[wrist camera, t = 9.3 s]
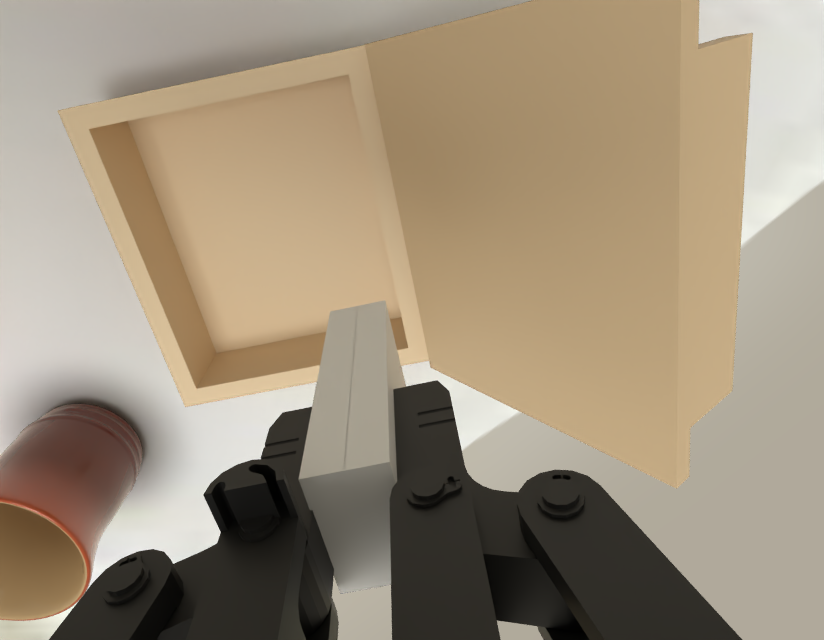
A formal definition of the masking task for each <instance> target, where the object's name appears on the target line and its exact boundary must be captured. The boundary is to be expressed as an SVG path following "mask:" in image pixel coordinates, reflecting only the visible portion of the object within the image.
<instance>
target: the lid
mask: <svg viewBox="0 0 824 640" xmlns="http://www.w3.org/2000/svg"><path fill="white" fill-rule="evenodd" d="M698 31H699V0H533V1H529V2H525V3H522V4H518V5H514V6H510V7H506V8H502V9H499V10H495V11H491V12H487V13H483V14H479V15H476V16H472V17H468V18H464V19H460V20H457V21H453V22H449V23H445V24H441V25H437V26H434V27H430V28H426V29H422V30H418V31H414V32H411V33H407V34H403V35H399V36H395V37H391V38H388V39H384V40H380V41H376V42H372V43H368V44H365V49H366V54H367V59H368V63H369V68H370V73H371V78H372V83H373V88H374V93H375V98H376V103H377V107H378V112H379V117H380V122H381V127H382V132H383V137H384V142H385V147H386V151H387V156H388V161H389V166H390V171H391V176H392V181H393V186H394V191H395V195H396V200H397V205H398V210H399V215H400V220H401V225H402V230H403V235H404V239H405V244H406V249H407V254H408V259H409V264H410V269H411V274H412V279H413V283H414V288H415V293H416V298H417V303H418V308H419V313H420V318H421V323H422V328H423V332H424V337H425V342H426V347H427V352H428V357H429V362H430V367H431V368H433V369H435V370H437V371H439V372H441V373H443V374H445V375H447V376H449V377H451V378H453V379H455V380H457V381H459V382H461V383H463V384H465V385H467V386H469V387H471V388H473V389H475V390H477V391H479V392H481V393H483V394H485V395H488V396H490V397H492V398H494V399H496V400H498V401H500V402H502V403H504V404H506V405H508V406H510V407H512V408H514V409H516V410H518V411H520V412H522V413H524V414H526V415H528V416H530V417H533V418H534V419H537V420H538V421H540V422H542V423H544V424H546V425H549V426H550V427H553V428H555V429H557V430H559V431H561V432H563V433H565V434H567V435H569V436H571V437H573V438H575V439H577V440H579V441H581V442H583V443H585V444H587V445H589V446H591V447H593V448H595V449H597V450H599V451H601V452H603V453H605V454H607V455H609V456H611V457H614V458H616V459H618V460H620V461H622V462H624V463H626V464H628V465H630V466H632V467H634V468H636V469H638V470H640V471H642V472H644V473H646V474H648V475H650V476H652V477H654V478H656V479H658V480H660V481H663V482H664V483H666V484H669V485H670V486H673V487H675V488H678V487H679V486H680V485H681V484H682V483H683V482H684V481H685V480H686V479H687V478H688V477H689V463H690V459H689V458H690V428H691V427H692V426H693V425H694V424H695V423H696V422H697V421H698V420H700V419H701V418H702V417H703V416H704V415H705V414H706V413H707V412H709V411H710V410H711V409H712V408H713V407H714V406H716V405H717V404H718V403H719V402H720V401H721V400H722V399H724V398H725V397H726V396H727V395H728V394H729V393H730V392H731V391H732V386H733V368H734V352H735V334H736V333H735V332H736V317H737V299H738V281H739V265H740V247H741V230H742V212H743V195H744V177H745V160H746V142H747V125H748V107H749V90H750V72H751V55H752V37H753V33H748V34H742V35H735V36H728V37H722V38H719V39H716V40H712V41H709V42H705V43H702V44H698Z"/></svg>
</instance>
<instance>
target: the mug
mask: <svg viewBox="0 0 824 640" xmlns="http://www.w3.org/2000/svg"><path fill="white" fill-rule="evenodd" d="M141 462H142V446H141V442H140V440H139V438H138V436H137V434H136V432H135V431H134V429H133V428H132V427H131V426H130V425H129V424H128V423H127V422H126V421H125V420H124V419H123V418H121V417H120V416H118V415H117V414H115V413H113V412H111V411H109V410H107V409H105V408H102V407H98V406H95V405H89V404H68V405H64V406H60V407H57V408H55V409H53V410H51V411H49V412H48V413H46V414H45V415H44V416H42V417H41V418H39V419H38V420H36V421H35V422H33V423H31V424H30V425H28V426H27V427H26V428H25V429H24V430H23V431H22V432H21V433H20V434H19V435H18V437H17V438H16V439H15V440H14V441H13V442H12V443H11V444H10V445H9V446H8V448H7V449H6V450H5V451H4V452H3V453H2V454H1V455H0V620H14V621H26V620H36V619H42V618H47V617H50V616H54V615H56V614H59V613H61V612H63V611H65V610H67V609H69V608H70V607H72V606H73V605H74V604H75V603H77V602H78V601H79V600H80V599H81V597H82V596H83V595H84V593H85V592H86V590H87V588H88V586H89V583H90V580H91V576H92V571H93V565H94V559H95V554H96V550H97V546H98V543H99V541H100V538H101V536H102V535H103V533H104V531H105V530H106V528H107V526H108V525H109V523H110V522H111V521H112V519H113V518H114V516H115V515H116V513H117V512H118V510H119V508H120V507H121V505H122V503H123V502H124V500H125V498H126V497H127V495H128V494H129V493H130V491H131V490H132V488H133V486H134V484H135V481H136V477H137V476H138V473H139V469H140V465H141Z"/></svg>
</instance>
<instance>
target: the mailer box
mask: <svg viewBox="0 0 824 640" xmlns="http://www.w3.org/2000/svg"><path fill="white" fill-rule="evenodd" d="M58 113H59V115H60V118H61V120H62V122H63V124H64V127H65V129H66V131H67V134H68V136H69V138H70V141H71V143H72V145H73V148H74V150H75V152H76V155H77V157H78V159H79V162H80V164H81V166H82V169H83V171H84V173H85V175H86V178H87V180H88V182H89V185H90V187H91V189H92V192H93V194H94V196H95V199H96V201H97V203H98V206H99V208H100V210H101V213H102V215H103V217H104V220H105V222H106V224H107V226H108V229H109V231H110V233H111V236H112V238H113V240H114V243H115V245H116V247H117V250H118V252H119V254H120V257H121V259H122V261H123V264H124V266H125V268H126V271H127V273H128V275H129V278H130V280H131V282H132V284H133V287H134V289H135V291H136V294H137V296H138V298H139V301H140V303H141V305H142V308H143V310H144V312H145V315H146V317H147V319H148V322H149V324H150V326H151V329H152V331H153V333H154V335H155V338H156V340H157V342H158V345H159V347H160V349H161V352H162V354H163V356H164V359H165V361H166V363H167V366H168V368H169V370H170V373H171V375H172V377H173V380H174V382H175V384H176V386H177V389H178V391H179V393H180V396H181V398H182V400H183V403H184V405H185V407H188V406H193V405H198V404H204V403H209V402H214V401H219V400H225V399H230V398H235V397H240V396H246V395H251V394H256V393H261V392H267V391H272V390H277V389H282V388H288V387H293V386H298V385H303V384H309V383H314V382H317V379H318V373H319V368H320V363H321V358H322V352H323V347H324V342H325V336H326V331H327V326H328V320H329V315H330V311H335V310H340V309H345V308H350V307H355V306H360V305H364V304H369V303H374V302H379V301H384V300H385V301H386V305H387V309H388V314H389V318H390V322H391V326H392V330H393V335H394V339H395V343H396V347H397V351H398V355H399V360H400V364H401V366H403V365H408V364H413V363H419V362H424V361H429V357H428V352H427V347H426V342H425V337H424V332H423V328H422V323H421V318H420V313H419V308H418V303H417V298H416V293H415V288H414V283H413V279H412V274H411V269H410V264H409V259H408V254H407V249H406V244H405V239H404V235H403V230H402V225H401V220H400V215H399V210H398V205H397V200H396V195H395V191H394V186H393V181H392V176H391V171H390V166H389V161H388V156H387V151H386V147H385V142H384V137H383V132H382V127H381V122H380V117H379V112H378V107H377V103H376V98H375V93H374V88H373V83H372V78H371V73H370V68H369V63H368V59H367V54H366V49H365V45H362V46H358V47H353V48H348V49H344V50H339V51H334V52H330V53H325V54H320V55H316V56H311V57H306V58H302V59H297V60H292V61H287V62H283V63H278V64H273V65H269V66H264V67H259V68H255V69H250V70H245V71H241V72H236V73H231V74H226V75H222V76H217V77H212V78H208V79H203V80H198V81H194V82H189V83H184V84H180V85H175V86H170V87H166V88H161V89H156V90H151V91H147V92H142V93H137V94H133V95H128V96H123V97H119V98H114V99H109V100H105V101H100V102H95V103H90V104H86V105H81V106H76V107H72V108H67V109H62V110H58Z"/></svg>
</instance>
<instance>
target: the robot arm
mask: <svg viewBox="0 0 824 640" xmlns="http://www.w3.org/2000/svg"><path fill="white" fill-rule="evenodd" d="M204 497H205V499H206V501H207V504H208V506H209V508H210V510H211V512H212V514H213V516H214V519H215V521H216V523H217V525H218V527H219V529H220V531H221V534H220V537H219V540H218V543H217V544H215V545H213V546H212V547H210V548H208V549H206V550H204V551H202V552H200V553H197V554H195V555H193V556H191V557H188V558H186V559H184V560H182V561H179V562H177V563H175V564H173V563H172V561H171V559H170V558H169V557H168V556H167V555H166V554H165V552H162V551H158V550H154V549H151V550H145V551H139V552H136V553H133V554H131V555H129V556H127V557H124V558H122V559H120V560H119V561H117V562H116V563H115V564H113V565H112V566H110V567H109V568H107V569H106V570H105V571H104V572H103V573H102V574H101V575H100V576H99V577H98V578H97V579H96V580H95V581H94V582H93V583H92V585H91V586H90V587H89V589H88V590H87V591H86V592H85V594H84V595H83V596H82V598H81V599H80V600H79V602H78V603H77V604H76V605H75V607H74V608H73V609H72V611H71V612H70V613H69V614H68V616H67V617H66V618H65V620H64V621H63V622H62V623H61V625H60V626H59V627H58V629H57V630H56V631H55V633H54V634H53V635H52V636H51V638H50V639H49V640H337V637H338V616H337V610H336V607H335V605H334V602H333V599H332V587H333V576H334V577H335V580H336V583H337V586H338V588H339V591H340V593H341V594H343V593H348V592H354V591H360V590H365V589H370V588H376V587H381V586H386V585H391V599H392V640H500V635H499V631H498V625H497V620H498V621H505V622H512V623H519V624H527V625H533V626H537V627H538V630H539V632H540V634H541V636H542V637H543V639H544V640H742V639H741V638H740V637H739V636H738V635H737V634H736V632H735V631H734V630H733V629H732V628H731V627H730V626H729V625H728V624H727V623H726V622H725V621H724V620H723V618H722V617H721V616H720V615H719V614H718V613H717V612H716V611H715V610H714V609H713V607H712V606H711V605H710V604H709V603H708V602H707V601H706V600H705V599H704V598H703V597H702V596H701V594H700V593H699V592H698V591H697V590H696V589H695V588H694V587H693V586H692V585H691V584H690V582H689V581H688V580H687V579H686V578H685V577H684V576H683V575H682V574H681V573H680V572H679V571H678V570H677V568H676V567H675V566H674V565H673V564H672V563H671V562H670V561H669V560H668V559H667V558H666V556H665V555H664V554H663V553H662V552H661V551H660V550H659V549H658V548H657V547H656V546H655V544H654V543H653V542H652V541H651V540H650V539H649V538H648V537H647V536H646V535H645V534H644V533H643V531H642V530H641V529H640V528H639V527H638V526H637V525H636V524H635V523H634V522H633V521H632V520H631V518H630V517H629V516H628V515H627V514H626V513H625V512H624V511H623V510H622V509H621V508H620V506H619V505H618V504H617V503H616V502H615V501H614V500H613V499H612V498H611V497H610V496H609V495H608V493H607V492H606V491H605V490H604V489H603V488H602V487H601V486H600V485H599V484H598V483H596V482H595V481H593V480H592V479H591V478H590V477H588V476H586V475H584V474H580V473H578V472H574V471H568V470H552V471H548V472H543V473H540V474H538V475H536V476H534V477H532V478H531V479H529V480H527V481H526V483H525V484H524V485H523V486H522V488H521V489H520V490H519V492H504V491H498V490H492V489H489V488H487V487H484V486H482V485H480V484H478V483H477V482H475V481H474V480H473V479H472V478H471V477H470V475H469V474H468V473H467V470H466V468H465V465H464V460H463V456H462V450H461V446H460V441H459V436H458V431H457V426H456V422H455V417H454V412H453V407H452V402H451V397H450V393H449V391H448V390H447V389H446V388H445V387H444V386H443V385H442V384H441V383H440V382H438V381H432V382H427V383H422V384H417V385H412V386H407V387H406V385H405V381H404V376H403V372H402V368H401V364H400V360H399V355H398V351H397V347H396V343H395V339H394V335H393V330H392V326H391V322H390V318H389V314H388V309H387V305H386V301H385V300H384V301H379V302H374V303H369V304H364V305H360V306H355V307H350V308H345V309H340V310H335V311H330V315H329V320H328V326H327V331H326V336H325V342H324V347H323V352H322V358H321V363H320V368H319V373H318V379H317V384H316V389H315V395H314V400H313V405H312V407H309V408H304V409H299V410H294V411H289V412H284V413H282V414H281V415H280V416H279V418H278V419H277V420H276V421H275V422H274V424H273V425H272V426H271V427H270V428H269V432H268V435H267V439H266V442H265V448H264V449H263V452H262V456H261V459H260V460H250V461H247V462H244V463H241V464H238V465H236V466H234V467H232V468H230V469H228V470H227V471H225V472H223V473H222V474H221V475H219V476H218V477H217V478H216V479H215V480H214V481H213V482H212V483H211V484H210V485H209V487H208V488H207V490H206V492H205V493H204Z"/></svg>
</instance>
